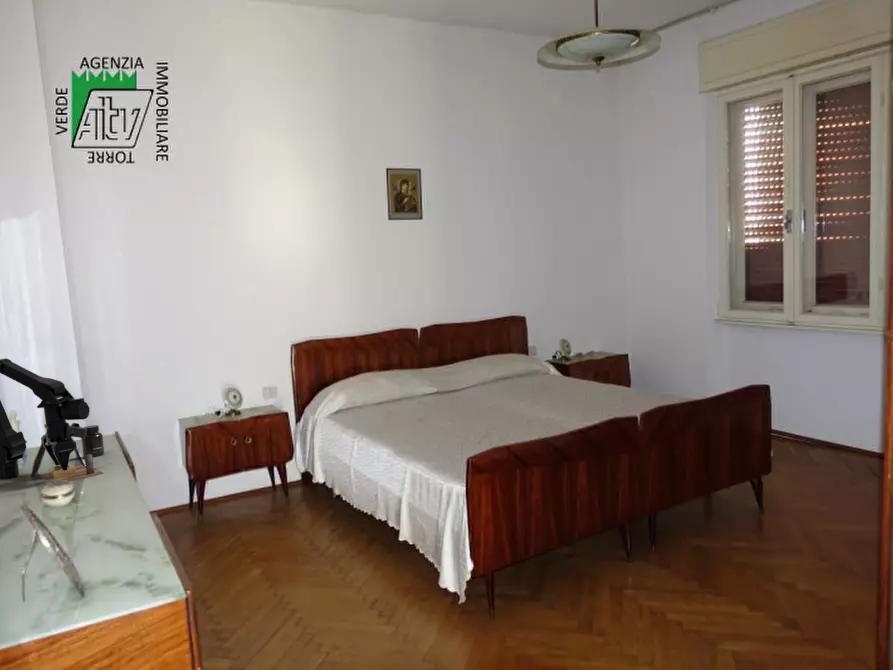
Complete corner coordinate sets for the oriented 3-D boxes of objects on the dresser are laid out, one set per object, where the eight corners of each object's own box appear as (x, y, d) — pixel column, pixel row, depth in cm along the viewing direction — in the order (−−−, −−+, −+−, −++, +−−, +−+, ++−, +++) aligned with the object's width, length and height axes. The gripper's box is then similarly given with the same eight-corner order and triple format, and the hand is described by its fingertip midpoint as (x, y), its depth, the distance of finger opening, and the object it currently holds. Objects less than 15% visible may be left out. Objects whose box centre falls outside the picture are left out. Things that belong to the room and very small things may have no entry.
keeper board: (42, 478, 229) (39, 456, 228) (88, 468, 238) (85, 446, 238) (56, 489, 216) (53, 465, 215) (104, 477, 225) (102, 455, 224)
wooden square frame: (49, 475, 227) (48, 467, 227) (70, 470, 231) (69, 463, 231) (54, 478, 222) (53, 471, 222) (76, 473, 226) (75, 466, 226)
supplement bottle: (99, 461, 246) (95, 428, 245) (80, 462, 246) (75, 429, 245) (108, 456, 253) (105, 423, 252) (90, 457, 253) (86, 424, 252)
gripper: (91, 419, 223) (96, 466, 225) (75, 412, 237) (80, 457, 239) (52, 426, 216) (58, 475, 217) (38, 418, 230) (43, 465, 231)
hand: (61, 467), depth 226 cm, fingers open, 9 cm apart
